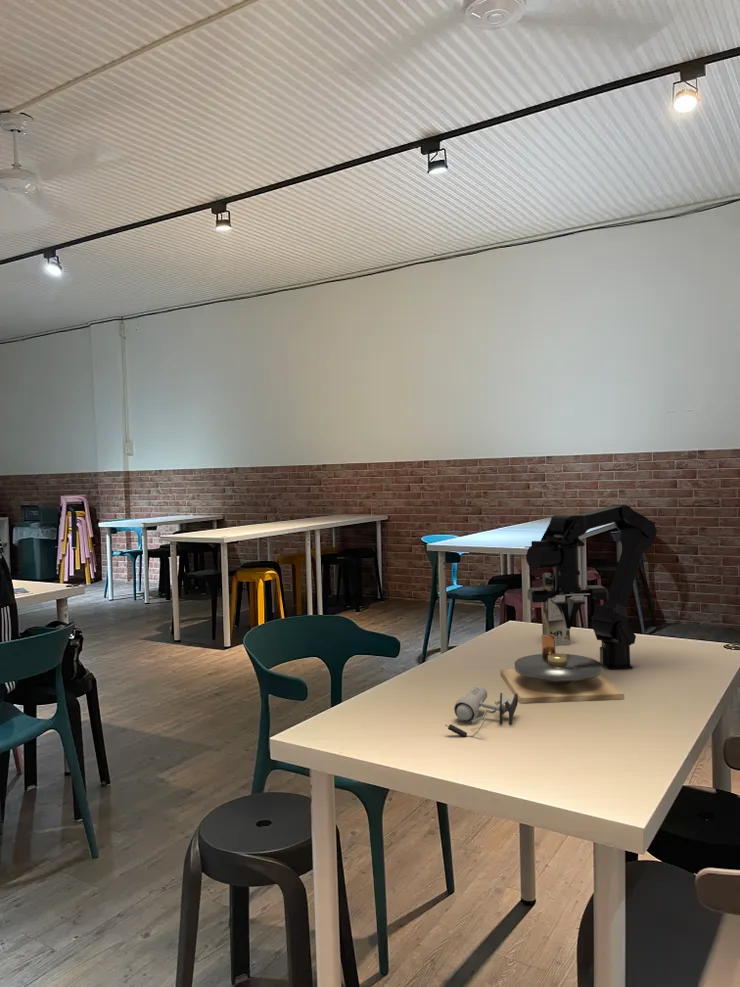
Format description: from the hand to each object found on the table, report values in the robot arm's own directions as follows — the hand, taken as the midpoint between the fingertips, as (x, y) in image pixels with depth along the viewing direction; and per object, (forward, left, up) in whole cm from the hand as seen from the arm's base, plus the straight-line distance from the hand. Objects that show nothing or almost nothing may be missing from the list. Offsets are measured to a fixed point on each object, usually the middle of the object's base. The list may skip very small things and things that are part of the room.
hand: (568, 628), depth 181 cm
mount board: (+5, +8, -12) cm, 15 cm away
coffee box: (-6, -35, -12) cm, 38 cm away
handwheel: (+5, +8, -8) cm, 12 cm away
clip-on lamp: (+27, +32, -12) cm, 43 cm away
